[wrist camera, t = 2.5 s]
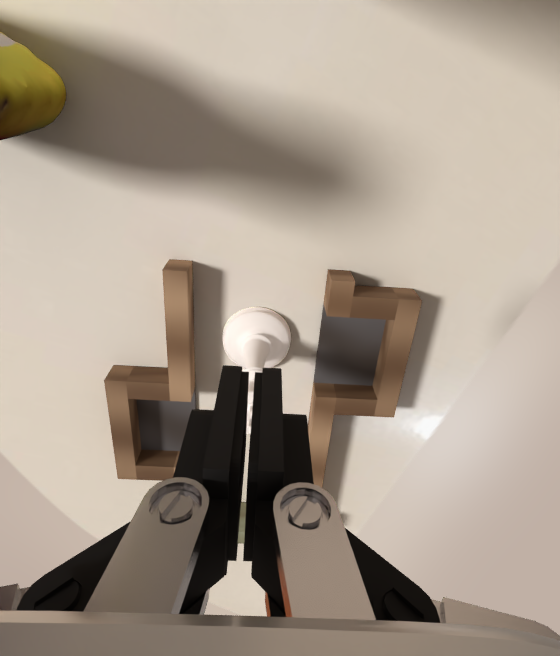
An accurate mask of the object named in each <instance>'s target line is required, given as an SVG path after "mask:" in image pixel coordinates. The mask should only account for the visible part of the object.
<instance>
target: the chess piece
mask: <svg viewBox="0 0 560 656" xmlns="http://www.w3.org/2000/svg"><path fill="white" fill-rule="evenodd" d="M290 343H291V332H290V329H289V326H288V324H287V323H286V321H285V320H284V319H283V318H282V317H281V316H280V315H279V314H278V313H276V312H274V311H272V310H270V309H267V308H263V307H250V308H245V309H242V310H240V311H238V312H236V313H235V314H234V315H232V316H231V317H230V318H229V320H228V321H227V322H226V324H225V326H224V329H223V346H224V349H225V352H226V354H227V355H228V357H229V358H230V359H231V360H232V361H233V362H234V363H235V364H237V365H238V366H242V367H243V368H245V369H243V370H242V371H243V372H249V385H248V406H247V428H246V435H247V434H251V421H252V407H253V393H254V379H255V372H262V370H263V368H271V367H274V366H275V365H277V364H279V363H280V362H281V361H282V360H283V359H284V358H285V356H286V355H287V353H288V351H289V347H290Z"/></svg>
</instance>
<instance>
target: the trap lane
mask: <svg viewBox="0 0 560 656" xmlns="http://www.w3.org/2000/svg"><path fill="white" fill-rule="evenodd" d="M163 286H164V304H165V322H166V340H167V357H168V368H158V367H138V366H119V365H113V367H112V369H111V370H110V372H109V374H108V375H107V377H106V379H105V380H104V382H105V389H106V397H107V404H108V411H109V418H110V425H111V433H112V440H113V447H114V454H115V461H116V468H117V476H118V479H137V480H162V481H164V480H166V479H170V478H173V475H174V472H175V468H176V464H177V461H178V457H179V453H180V450H181V446H182V442H183V439H184V435H185V431H186V428H187V424H188V420H189V417H190V413H191V411H192V409H196V396H195V352H194V308H193V264H192V261H186V260H170V259H169V261H168V262H167V264H166V265H165V267H164V269H163ZM421 303H422V300H421V299H420V297H419V296H418V295H417V293H416V292H415V291H414V289H407V288H391V287H375V286H359V285H355V280H354V278H353V276H352V274H351V271H344V270H328V274H327V282H326V290H325V297H324V305H323V313H322V321H321V328H320V336H319V344H318V351H317V359H316V367H315V375H314V382H313V390H312V398H311V406H310V413H309V421H308V434H309V443H310V453H311V462H312V472H313V481H314V485H318V486H320V487H321V488H322V485H323V479H324V472H325V466H326V460H327V454H328V448H329V441H330V435H331V429H332V423H333V417H334V414H335V415H356V416H377V417H394V415H395V410H396V406H397V402H398V398H399V394H400V390H401V386H402V382H403V377H404V373H405V369H406V365H407V361H408V357H409V353H410V349H411V345H412V340H413V336H414V332H415V328H416V324H417V320H418V316H419V312H420V308H421ZM245 518H246V502H241V510H240V522H239V534H238V543H244V538H245Z"/></svg>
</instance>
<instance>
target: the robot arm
mask: <svg viewBox="0 0 560 656" xmlns="http://www.w3.org/2000/svg"><path fill="white" fill-rule="evenodd" d="M248 385H249V372H243V371H242V366H224V365H223V368H222V373H221V378H220V383H219V388H218V393H217V398H216V403H215V408H214V410H196V409H192V411H191V413H190V417H189V420H188V424H187V428H186V431H185V435H184V439H183V442H182V446H181V450H180V453H179V457H178V461H177V464H176V468H175V472H174V475H173V478H170V479H166V480H164V481H162V482H159V483H157V484H156V485H155V486H153V487H152V488H151V489H149V491H148V492H147V493H146V495H145V496H144V498H143V500H142V502H141V503H140V505H139V507H138V509H137V511H136V513H135V515H134V517H133V519H132V520H131V522H129V523H127V524H126V525H124V526H123V527H121V528H119V529H118V530H116V531H115V532H113V533H111V534H110V535H108V536H106V537H105V538H103V539H102V540H100V541H98V542H97V543H95V544H94V545H92V546H90V547H89V548H87V549H86V550H84V551H83V552H81V553H79V554H78V555H76V556H74V557H73V558H71V559H70V560H68V561H66V562H65V563H63V564H61V565H60V566H58V567H57V568H55V569H53V570H52V571H50V572H49V573H47V574H45V575H44V576H43V577H41V578H40V579H39V580H37V581H36V582H35V583H34V584H33V585H32V586H31V587H27V588H22V589H20V588H19V585H18V584H13V585H7V586H2V587H0V656H560V636H559V635H558V634H557V633H555V632H554V631H553V630H551V629H550V628H549V627H547V626H545V625H543V624H540V623H538V622H536V621H533V620H529V619H525V618H521V617H517V616H514V615H509V614H506V613H502V612H498V611H494V610H490V609H487V608H483V607H479V606H476V605H472V604H468V603H464V602H460V601H456V600H453V599H449V598H445V597H443V599H442V602H440V601H436V600H432V599H430V597H429V596H428V595H427V594H426V593H425V592H424V591H423V590H422V589H421V588H420V587H419V586H418V585H416V584H415V583H414V582H412V581H411V580H410V579H409V578H408V577H406V576H405V575H404V574H402V573H401V572H400V571H399V570H397V569H396V568H395V567H394V566H392V565H391V564H390V563H389V562H387V561H386V560H385V559H384V558H382V557H381V556H380V555H379V554H377V553H376V552H375V551H374V550H372V549H371V548H370V547H368V546H367V545H366V544H365V543H363V542H362V541H361V540H360V539H358V538H357V537H356V536H355V535H353V534H352V533H351V532H350V531H348V530H347V529H346V528H345V527H344V524H343V521H342V518H341V515H340V512H339V509H338V506H337V504H336V502H335V500H334V498H333V497H332V496H331V495H330V494H329V493H328V492H327V491H326V490H325V489H323V488H321V487H320V486H318V485H314V481H313V472H312V462H311V453H310V443H309V434H308V425H307V417H306V415H298V414H283V412H282V376H281V369H280V368H263V370H262V372H255V379H254V393H253V407H252V421H251V435H250V449H249V463H248V479H247V499H246V518H245V538H244V558H243V561H252V573H251V576H252V578H253V579H254V580H255V581H256V582H257V583H258V584H259V585H260V586H261V587H262V588H263V589H264V590H265V604H266V612H267V617H265V616H232V615H204V613H205V609H206V605H207V602H208V598H209V590H210V588H211V587H212V586H213V585H214V584H216V583H217V582H218V581H219V580H220V579H221V578H223V577H224V575H226V573H227V563H228V560H230V561H236V558H237V546H238V534H239V522H240V510H241V498H242V486H243V474H244V462H245V448H246V428H247V406H248Z"/></svg>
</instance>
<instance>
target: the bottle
mask: <svg viewBox="0 0 560 656" xmlns="http://www.w3.org/2000/svg"><path fill="white" fill-rule="evenodd" d="M65 101H66V90H65V86H64V83H63V81H62V79H61V78H60V76H59V75H58V74H57V73H56V72H55V71H54V69H52V68H51V67H50V66H49V65H47V64H46V63H44V62H43V61H41V60H40V59H38V58H37V57H36V56H35V55H34V54H33V53H32V52H31V51H30V50H29V49H28V48H26V47H25V46H24V45H22V44H20V43H18V42H15V41H13V40H12V39H10V38H9V37H7V36H6V35H4V34H3V33H2V32H0V140H3V139H7V138H11V137H15V136H18V135H21V134H24V133H28V132H31V131H34V130H37V129H40V128H43V127H45V126H47V125H48V124H50V123H51V122H53V121H54V120H55V119H56V118H57V116H58V115H59V114H60V112H61V111H62V109H63V107H64V104H65Z"/></svg>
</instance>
